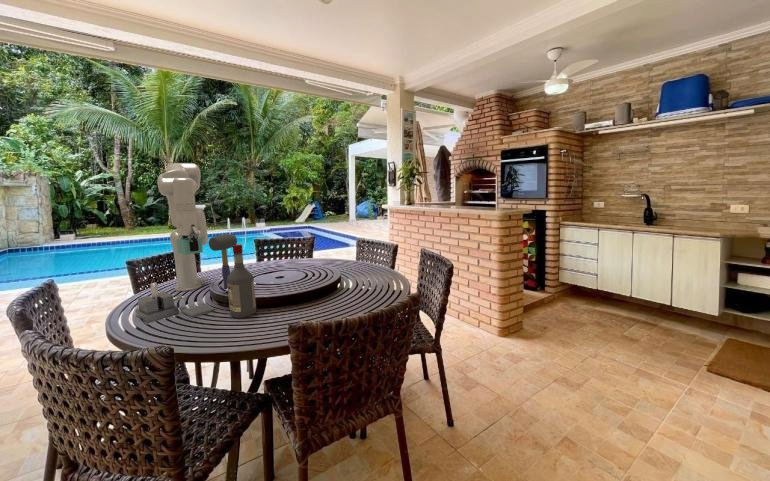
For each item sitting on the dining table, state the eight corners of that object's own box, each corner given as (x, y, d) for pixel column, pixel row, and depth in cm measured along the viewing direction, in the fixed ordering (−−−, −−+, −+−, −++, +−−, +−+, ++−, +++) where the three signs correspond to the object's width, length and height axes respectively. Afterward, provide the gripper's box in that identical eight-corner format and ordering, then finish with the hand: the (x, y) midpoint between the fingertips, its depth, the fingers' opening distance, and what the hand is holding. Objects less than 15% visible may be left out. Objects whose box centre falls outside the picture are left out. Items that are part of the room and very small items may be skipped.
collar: (195, 250, 155) (193, 236, 154) (202, 252, 151) (201, 238, 150) (178, 253, 150) (176, 239, 149) (185, 255, 145) (183, 240, 144)
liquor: (249, 308, 158) (243, 242, 153) (258, 313, 151) (252, 245, 146) (228, 314, 151) (221, 245, 146) (237, 319, 145) (230, 248, 140)
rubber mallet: (223, 297, 174) (217, 237, 169) (212, 295, 177) (206, 236, 172) (242, 289, 185) (237, 233, 180) (232, 288, 188) (227, 232, 183)
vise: (178, 304, 164) (174, 275, 162) (190, 310, 157) (186, 279, 154) (136, 316, 151) (132, 284, 149) (147, 322, 144) (143, 289, 141)
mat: (204, 306, 162) (204, 304, 162) (215, 310, 156) (215, 308, 156) (181, 312, 154) (181, 310, 154) (192, 317, 148) (191, 315, 148)
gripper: (167, 208, 149) (172, 249, 152) (185, 209, 139) (190, 253, 142) (185, 206, 155) (190, 246, 158) (204, 208, 145) (209, 250, 148)
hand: (190, 249), depth 150 cm, fingers closed on collar, 7 cm apart
